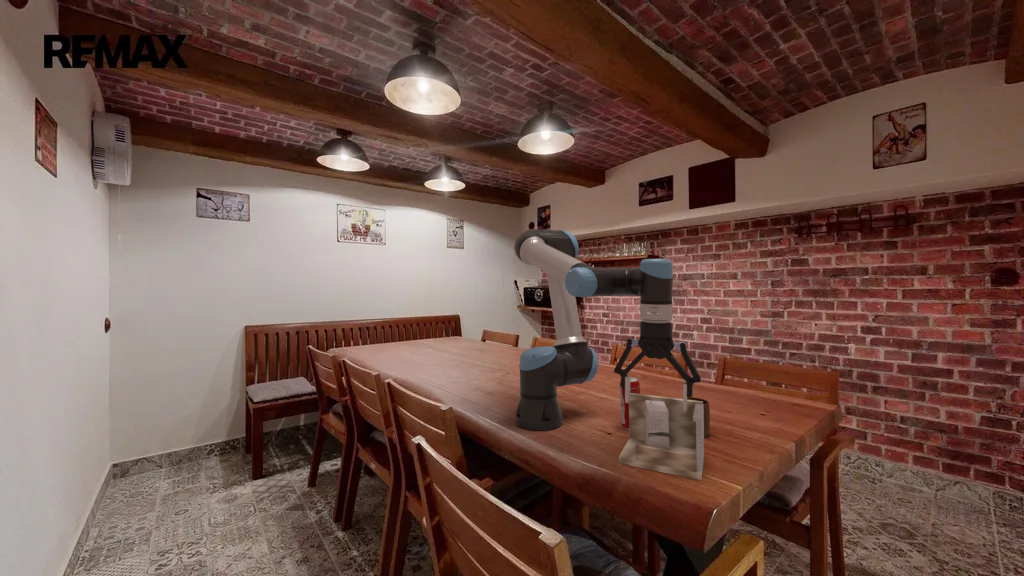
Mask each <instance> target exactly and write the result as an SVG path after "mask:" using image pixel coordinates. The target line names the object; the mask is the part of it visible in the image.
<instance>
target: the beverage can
mask: <svg viewBox="0 0 1024 576" xmlns="http://www.w3.org/2000/svg"><path fill="white" fill-rule="evenodd" d="M640 389H641V384H640V382H639V379H638V377H634V376H630V393H635V394H641V390H640ZM619 393H620V396H619V398H620V414H621V415H620V418H621V419H620V420H621V421H620V422H621V427H622V428H623V429H625V430H628V431H629V402H628V403H625V389H623V388H622V387H621V380H620V382H619Z"/></svg>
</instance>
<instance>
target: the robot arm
mask: <svg viewBox="0 0 1024 576" xmlns="http://www.w3.org/2000/svg"><path fill="white" fill-rule="evenodd" d="M513 249H514V254H515V256H516V257H517V259H519V260H520V262H522V263H524V264H525V265H528V266H535V267H537V268H538V269H540V270H541V271H542V272H545V274H546V278H547V284H548V289H549V290H548V291H549V297H550V303H551V309H552V310H551V312H552V316H553V322H554V329H555V330H554V331H555V336H556V341H555V343H553V346H550V345H549V346H548V345H546V346H535V347H531V348H527V349H525V350H524V351H523V352H522V353H520V355H519V365H518V366H519V367H518V368H519V390H520V397H519V400H518V405H517V407H516V411H515V414H514V415H515V416H514V418H515V419H514V423H515V425H516V426H518V427H519V428H522V429H525V430H530V431H549V430H550V431H551V430H554V429H557V428H559V427H560V426H562V425H563V424H564V423H563V421H564V420H563V417H564V416H563V412H562V409H561V406H560V404H559V400H558V394H557V393H558V392H557V391H558V390H557V389H558V387H565V386H572V385H581V384H584V383H588V382H591V381H592V380H594V378H595V376H596V375H597V374H598V373H597V372H598V369H599V357H598V355H597V352H596V351H595V350H594V348H592V347H590V346H589V344H588V343H589V342H588V340H586V339H585V338H584V337H583V335H582V329H581V323H580V317H579V311H578V305H577V298H593V297H595V298H596V297H623V296H624V297H627V296H628V297H639V299H640V301H639V305H640V307H639V319H641V321H640V322H639V324H640V325H639V339H636V338H634V337H629V338H628V339H627V340H626V347H625V348H624V351H623V352H622V354H621V356H620V358H619V359H618V362H617V363H616V366H615V367H614V368H613V373H614V374H618V375H619V376H620V381H621V387H622V388H623V389H625V403H628V402H629V401H630V377H631V374H629V373H630V372H631V370H633V368H635V367H636V365H637V364H638V363H639V362H640V361H641V360H643V358H644V357H645V356H646V357H647V358H648V359H656V360H663V359H666V360H667V362H669V364H671V366H672V367H673V368H674V369H675V371H676V372H677V373H678V374H679V376H680V377H681V378H682V379H683V386H682V387H683V388H682V398H683V411H685V412H687V397H692V396H693V391H694V389H693V385H694V384H696V383H698V384H699V383H700V382H701V381H702V378H701V375H700V373H699V370H697V368H696V365H695V364H694V361H693V359H692V358H691V355H690V354H689V352H688V349H687V347H688V346H687V343H686V341H681V342H674V341H673V323H672V322H671V321H672V320H673V287H674V286H673V285H674V284H673V281H674V280H673V279H674V275H673V262H672V260H670V259H668V258H645V259H642V260H641V261H640V265H639V267H595V266H591V265H589V264H587V263H585V262H584V261H581V260H579V259H578V258H579V257H578V256H579V255H578V253H579V251H580V250H579V249H580V247H579V242H578V240H577V237H576V236H575V235H574V234H573V233H572V232H569V231H566V230H562V229H561V230H560V229H557V230H556V229H539V228H532V229H531V228H530V229H526V230H524V231H522V232H521V233H520V234H518V236H517V237H516V239H515V241H514V246H513ZM576 297H577V298H576ZM636 346H638V347H639V349H640V350H641V352H640V353H639V354H638V355H637V356H636V357H635V358H634V359H633V360H632V361H631V362H630V363H629V364H628V365H627V366H626V367H625V368H624V369H623V367H624V364H625V362H626V360H627V359H628V358H629V355H630V353H631V351H632V349H633V348H635V347H636ZM674 348H675V349H676V350H677V351H678V352H680V355H681V356H682V358H683V360H684V362H685V364H686V366H687V368H688V370H689V371H690V374H691V375H692V376H691V375H690V374H689V373H688V371H686V369H685V368H684V367H683V366H682V364H680V362H679V361H678V359H676V357H675V356H674V354H673V353H672V352H671V351H672V350H673V349H674Z"/></svg>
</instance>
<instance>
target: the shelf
mask: <svg viewBox="0 0 1024 576" xmlns="http://www.w3.org/2000/svg"><path fill="white" fill-rule="evenodd" d="M645 400H650V401H663V402H664V403H665V405H666V407H667V409H668V412H669V445H670V450H667V449H662V448H656V447H651V446H646V428H645ZM695 403H700V404H703V401H695V400H687V412H685V411H683V399H682V398H676V397H667V396H660V395H651V394H644V393H643V394H642V393H640V394H635V393H630V401H629V430H628V431H629V432H628V433H629V435H628V436H629V438H628V440H627V442H626V443H625V445H624V447H623V449H622V450H621V452H620V454H619V456H618V464H621V465H623V466H624V465H625V466H631V467H635V468H638V469H639V468H641V469H644V470H649V471H654V472H660V473H664V474H669V475H673V476H679V477H683V478H689V479H692V480H693V479H694V480H698V481H702V480H703V478H702V477H703V472H700V471H697V464H696V422H695V421H693V414H694V409H695Z"/></svg>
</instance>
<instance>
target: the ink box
mask: <svg viewBox="0 0 1024 576" xmlns="http://www.w3.org/2000/svg"><path fill="white" fill-rule="evenodd" d="M645 428H646V446H651V447H656V448H662V449H667V450H670V445H669V412H668V409H667V407H666V405H665V403H664V402H663V401H650V400H645Z"/></svg>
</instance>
